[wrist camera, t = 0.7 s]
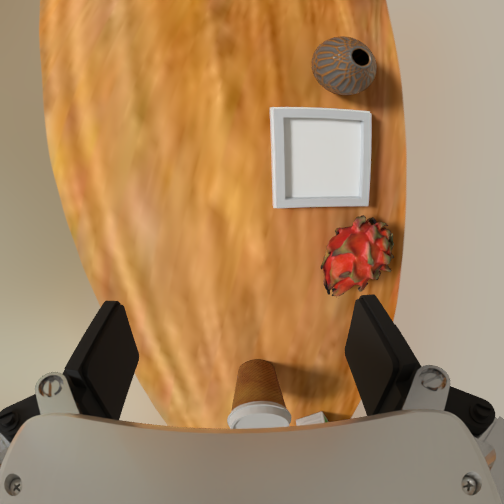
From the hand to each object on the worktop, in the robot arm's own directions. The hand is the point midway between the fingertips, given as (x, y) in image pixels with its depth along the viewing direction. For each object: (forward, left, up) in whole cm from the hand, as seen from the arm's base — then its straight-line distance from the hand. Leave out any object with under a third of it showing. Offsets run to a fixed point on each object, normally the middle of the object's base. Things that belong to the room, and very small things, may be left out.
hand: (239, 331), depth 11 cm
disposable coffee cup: (+32, +1, -26) cm, 41 cm away
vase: (-14, +12, -26) cm, 32 cm away
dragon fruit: (+9, +14, -27) cm, 31 cm away
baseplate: (-3, +10, -26) cm, 28 cm away
